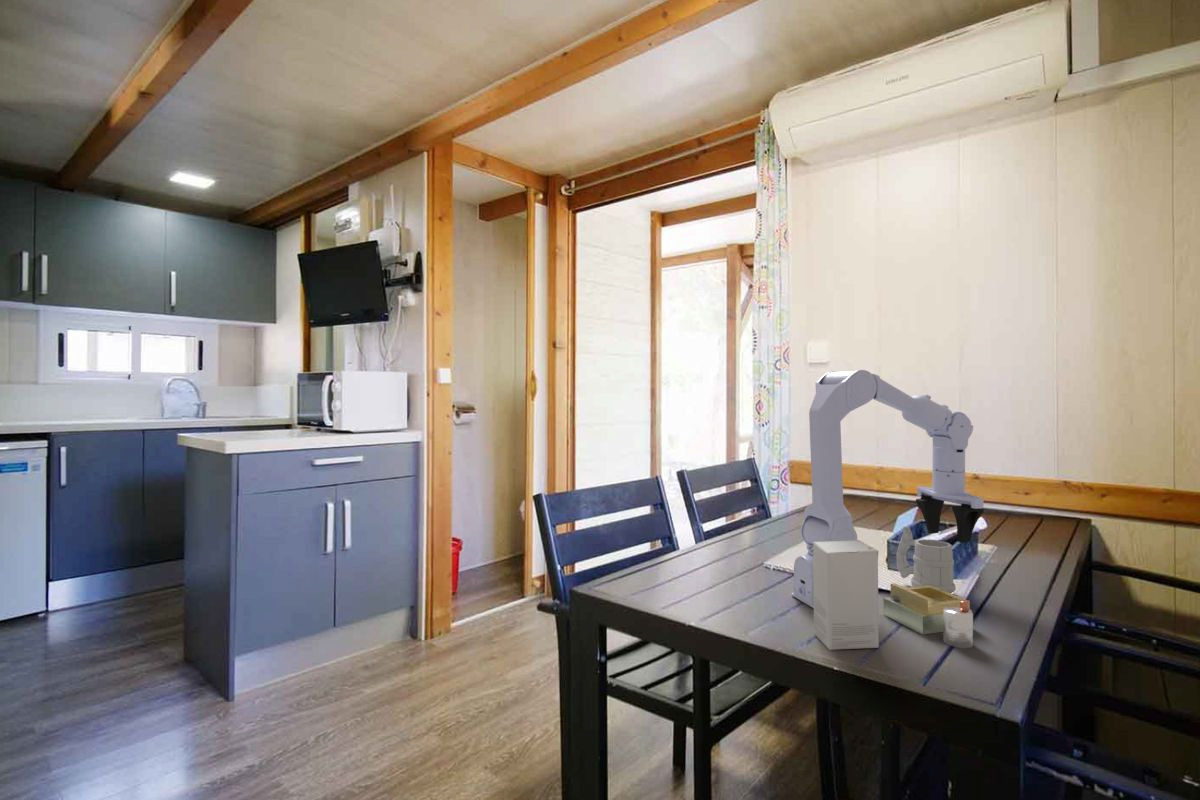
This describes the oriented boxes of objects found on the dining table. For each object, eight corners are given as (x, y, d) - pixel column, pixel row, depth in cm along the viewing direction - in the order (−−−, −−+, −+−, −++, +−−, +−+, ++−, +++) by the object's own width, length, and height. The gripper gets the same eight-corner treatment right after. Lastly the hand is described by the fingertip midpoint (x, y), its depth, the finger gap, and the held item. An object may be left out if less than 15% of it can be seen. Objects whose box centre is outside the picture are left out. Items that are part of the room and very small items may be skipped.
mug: (939, 602, 113) (939, 539, 113) (884, 584, 123) (884, 526, 123) (964, 595, 116) (964, 534, 116) (909, 578, 127) (909, 522, 127)
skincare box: (861, 633, 99) (861, 539, 99) (881, 650, 92) (881, 550, 92) (811, 633, 99) (811, 540, 98) (827, 651, 92) (828, 550, 92)
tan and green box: (922, 634, 98) (922, 601, 98) (883, 614, 107) (883, 583, 107) (971, 628, 101) (972, 595, 101) (929, 609, 109) (930, 579, 109)
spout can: (958, 649, 93) (958, 607, 92) (937, 639, 96) (937, 599, 96) (978, 646, 94) (979, 605, 93) (957, 636, 97) (957, 596, 97)
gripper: (996, 474, 115) (995, 544, 115) (936, 465, 129) (935, 528, 129) (966, 476, 113) (966, 547, 113) (908, 466, 127) (908, 530, 127)
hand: (948, 537), depth 121 cm, fingers open, 7 cm apart
